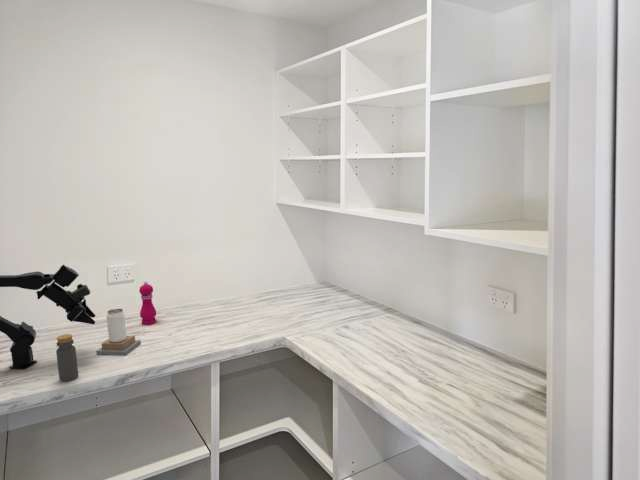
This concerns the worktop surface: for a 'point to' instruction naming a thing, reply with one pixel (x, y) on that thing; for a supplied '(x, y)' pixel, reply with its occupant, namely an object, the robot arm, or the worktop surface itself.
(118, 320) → the can
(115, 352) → the plinth
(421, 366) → the worktop surface
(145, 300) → the pepper mill
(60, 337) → the bottle
